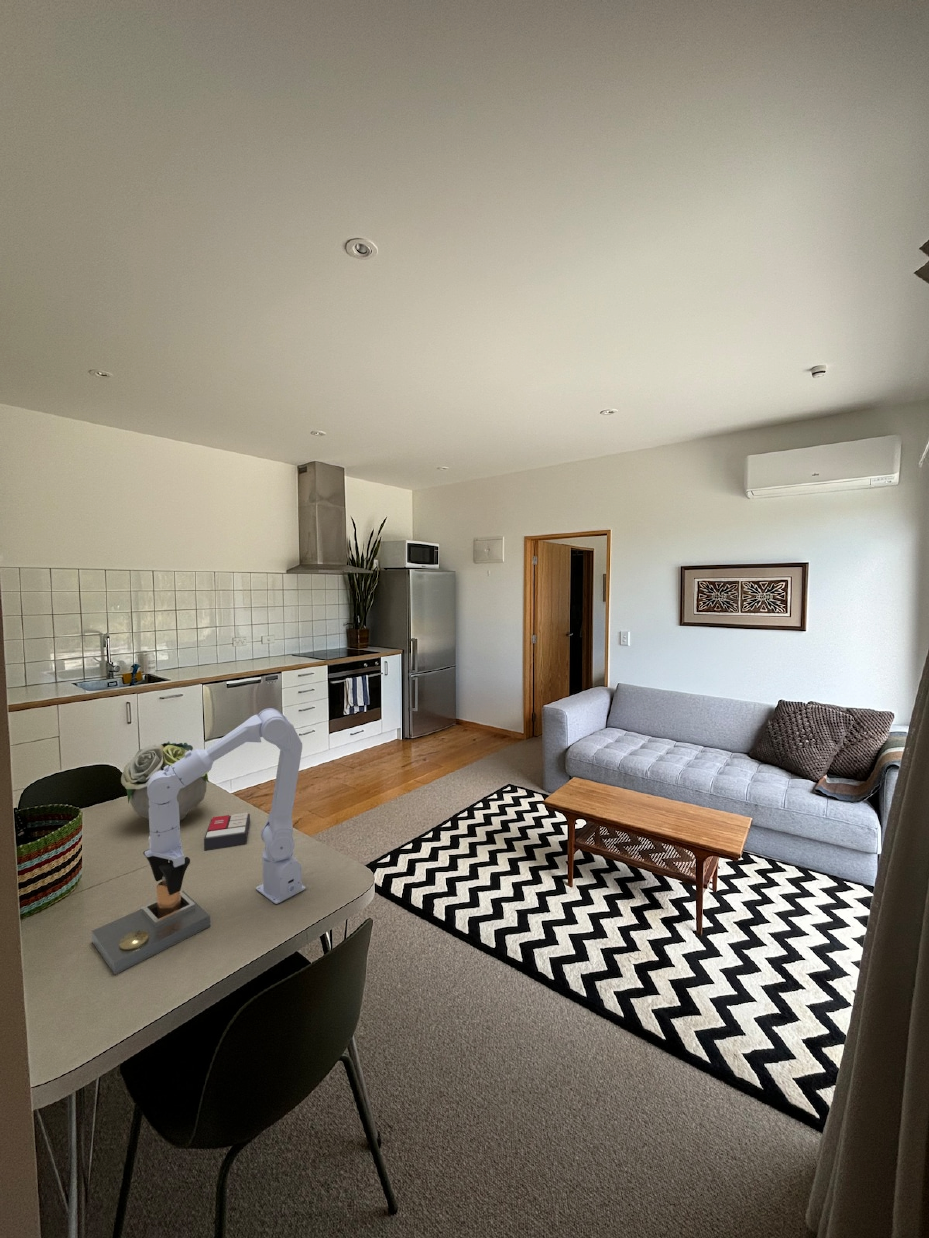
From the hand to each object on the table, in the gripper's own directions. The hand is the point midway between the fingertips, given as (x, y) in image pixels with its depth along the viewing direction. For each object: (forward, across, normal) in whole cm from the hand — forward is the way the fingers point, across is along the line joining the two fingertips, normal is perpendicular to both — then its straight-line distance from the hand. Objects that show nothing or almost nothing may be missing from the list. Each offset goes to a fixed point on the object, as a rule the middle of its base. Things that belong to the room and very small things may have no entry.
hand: (167, 885), depth 113 cm
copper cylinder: (+8, 0, 0) cm, 8 cm away
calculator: (+9, -28, +27) cm, 40 cm away
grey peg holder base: (+8, +2, -4) cm, 9 cm away
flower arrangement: (+8, -52, +20) cm, 56 cm away
